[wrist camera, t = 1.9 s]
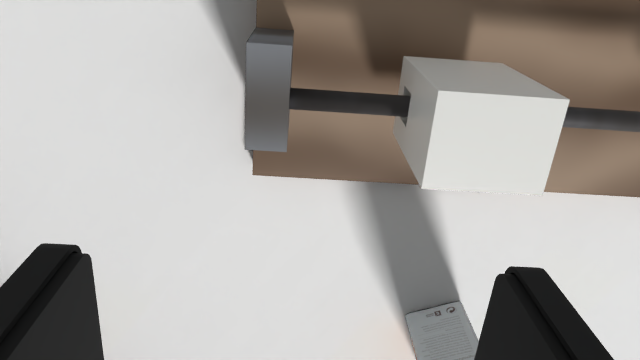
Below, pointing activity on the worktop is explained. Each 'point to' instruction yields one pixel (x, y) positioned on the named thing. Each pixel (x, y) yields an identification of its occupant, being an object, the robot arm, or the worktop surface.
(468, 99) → the sleeve
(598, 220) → the worktop surface
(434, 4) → the cord rack
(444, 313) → the skincare box
